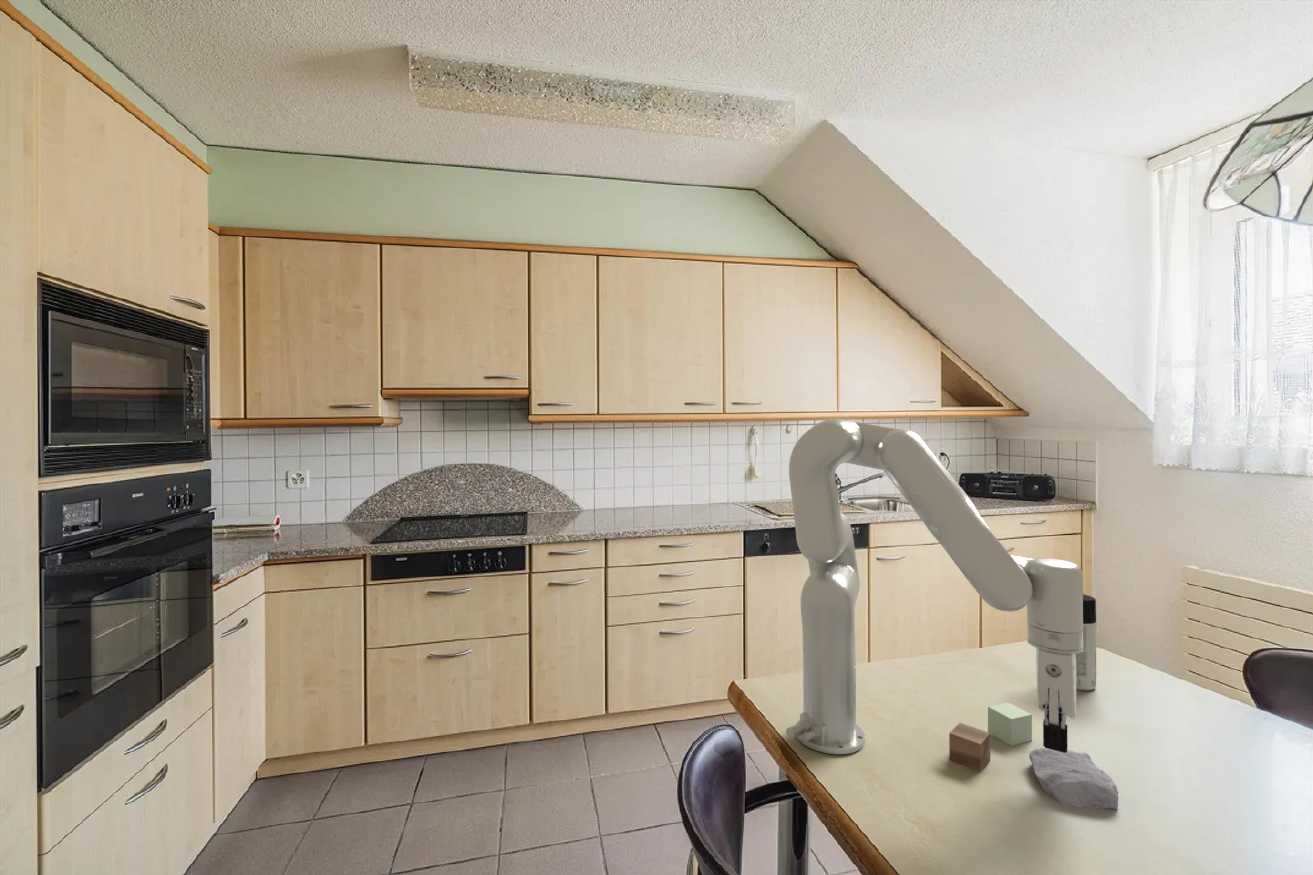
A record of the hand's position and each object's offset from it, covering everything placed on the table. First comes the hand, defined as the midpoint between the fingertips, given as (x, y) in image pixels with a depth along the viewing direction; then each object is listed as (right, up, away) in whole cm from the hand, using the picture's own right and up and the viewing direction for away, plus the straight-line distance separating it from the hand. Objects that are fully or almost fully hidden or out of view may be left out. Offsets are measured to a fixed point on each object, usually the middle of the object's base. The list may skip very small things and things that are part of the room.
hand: (1055, 747), depth 95 cm
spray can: (+29, -5, +35) cm, 46 cm away
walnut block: (-10, -6, +7) cm, 14 cm away
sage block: (+1, -6, +14) cm, 15 cm away
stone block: (+2, -6, 0) cm, 7 cm away
